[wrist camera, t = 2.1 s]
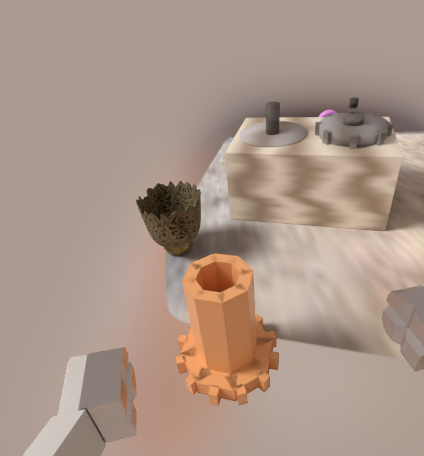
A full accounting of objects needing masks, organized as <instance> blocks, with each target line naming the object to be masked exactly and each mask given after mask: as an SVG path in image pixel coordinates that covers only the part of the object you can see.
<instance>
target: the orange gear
mask: <svg viewBox="0 0 424 456" xmlns="http://www.w3.org/2000/svg"><path fill="white" fill-rule="evenodd" d="M182 283H183V288H184V293H185V298H186V302H187V307H188V312H189V317H190V321H191V329H190V331H189V334H188V336H185V335H180V337H179V339H178V344H179V347H180V351H181V353H180V356H178V357H176V361H177V365H178V369H179V373H180V374H181V373H184V372H188V374H189V376H188V378H186V379H185V380H186V384H187V388H188V390H189V391H190V392H191V393H192V394H194V393H196V392H197V391H198V393H202V394H207V395H208V396H209V400H210V404H213V405H216V406H219V402H220V399H221V398H224V399H229V400H233V401H236V400H238V403H239V405H242V404H245V403H247V394H248V393H249V392H251V391H253V390H254V389H256V388H257V387H259V388H260V389H261V390H262V391H263V392H265V391H266V390H267V389H268V388H269V387H270V376H269V375H268V374H269V368H270V369H275V370H278V363H279V353H278V352H273V351H272V350H273V347H276V335H275V333H274V331H273V330H272V331H269V332H266V331H265V330H264V329H263V318H262V317H260V316H259V315H255V302H254V279H253V270H252V269H251V268H250V267H249V266H248V265H247V264H246V263H245V262H244V261H243V260H242V259H241V258H240V257H239V256H233V255H223V254H211V255H209V256H207V257H204V258H202V259H200V260H197V261H195V262H193V263H191V264H190V266H189V268H188V270H187V272H186V274H185V277H184V279H183V281H182Z"/></svg>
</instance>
